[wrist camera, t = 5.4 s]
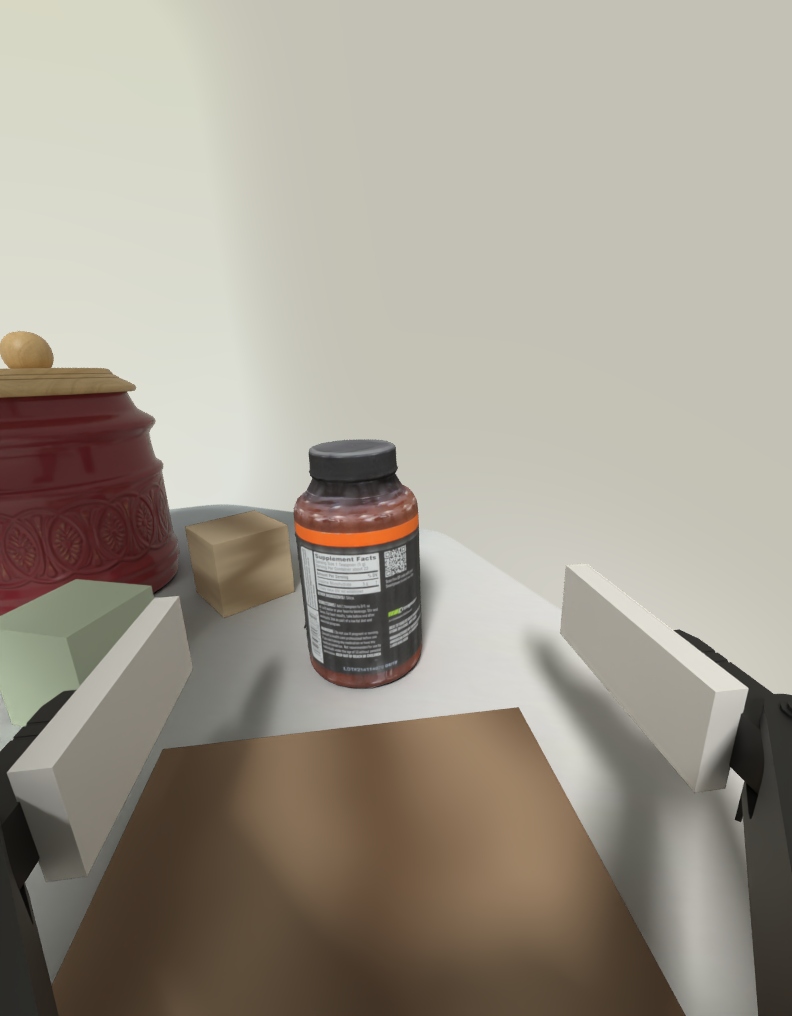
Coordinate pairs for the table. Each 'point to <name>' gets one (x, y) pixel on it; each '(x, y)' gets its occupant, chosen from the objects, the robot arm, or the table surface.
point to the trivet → (360, 885)
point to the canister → (76, 479)
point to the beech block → (240, 561)
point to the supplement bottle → (359, 564)
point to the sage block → (62, 640)
